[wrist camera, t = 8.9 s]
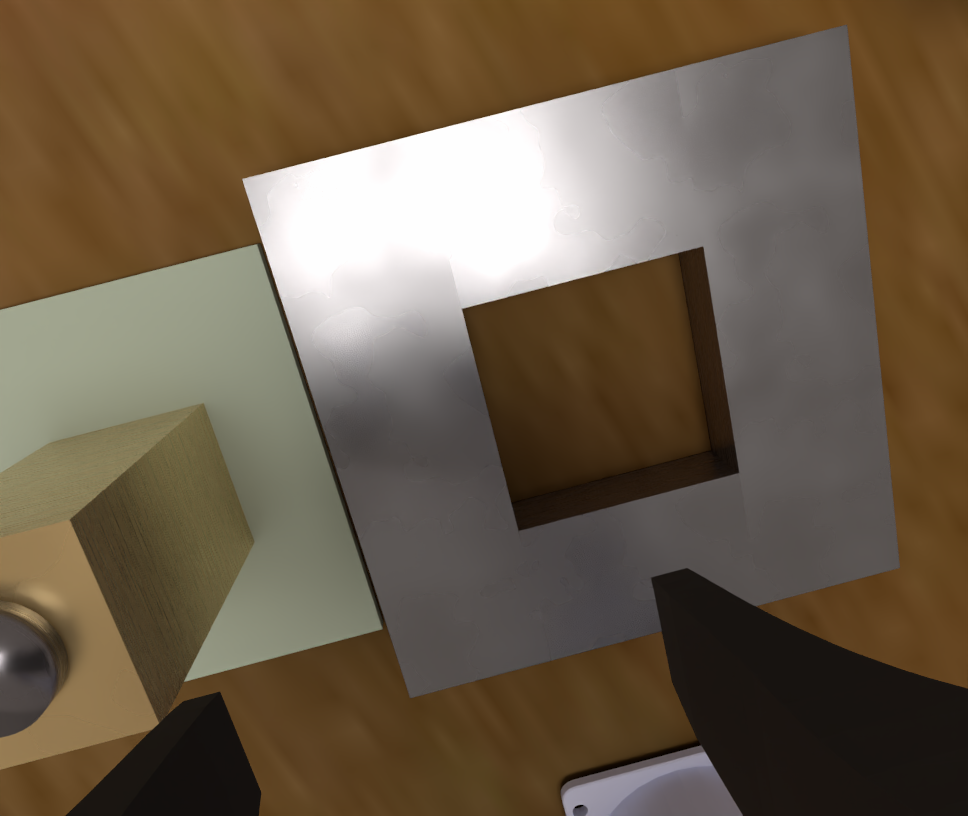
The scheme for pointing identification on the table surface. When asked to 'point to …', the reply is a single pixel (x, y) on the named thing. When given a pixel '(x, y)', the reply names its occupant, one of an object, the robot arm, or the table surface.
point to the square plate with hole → (572, 255)
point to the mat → (235, 420)
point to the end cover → (110, 579)
